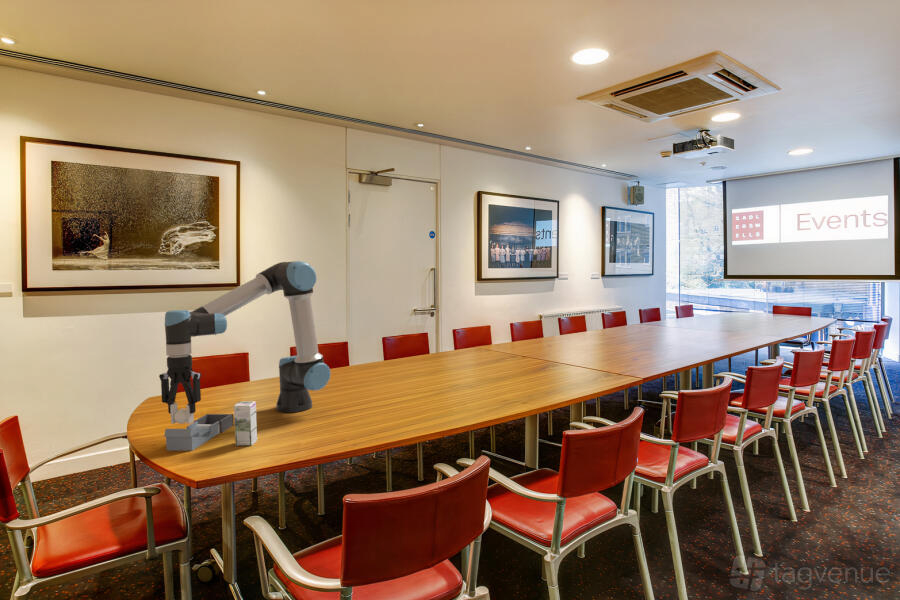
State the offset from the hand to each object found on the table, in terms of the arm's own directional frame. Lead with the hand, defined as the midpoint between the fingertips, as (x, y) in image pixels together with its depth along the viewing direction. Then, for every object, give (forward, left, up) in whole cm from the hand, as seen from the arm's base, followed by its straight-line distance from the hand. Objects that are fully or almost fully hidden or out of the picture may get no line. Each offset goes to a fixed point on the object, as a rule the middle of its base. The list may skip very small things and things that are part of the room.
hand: (182, 422), depth 167 cm
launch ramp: (0, -6, -9) cm, 11 cm away
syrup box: (-20, -4, -9) cm, 22 cm away
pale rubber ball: (0, 0, +2) cm, 2 cm away
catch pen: (0, -20, -9) cm, 22 cm away
